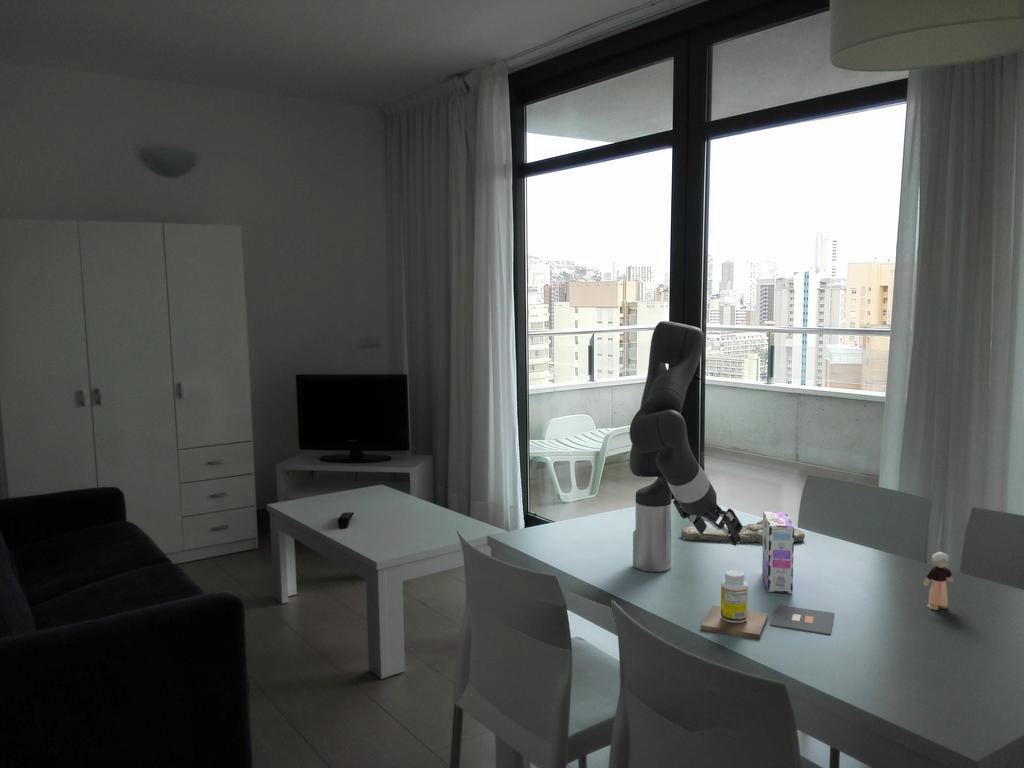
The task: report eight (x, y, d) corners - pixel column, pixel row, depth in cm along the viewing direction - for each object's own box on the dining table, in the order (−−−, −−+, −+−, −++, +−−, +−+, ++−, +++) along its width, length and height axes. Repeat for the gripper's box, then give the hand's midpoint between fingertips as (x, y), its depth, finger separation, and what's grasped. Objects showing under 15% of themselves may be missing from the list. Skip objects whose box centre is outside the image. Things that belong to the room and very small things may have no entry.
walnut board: (700, 629, 168) (700, 625, 168) (712, 609, 178) (712, 605, 178) (759, 639, 162) (759, 634, 162) (767, 618, 173) (767, 613, 173)
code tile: (770, 625, 169) (770, 624, 169) (777, 605, 180) (777, 604, 180) (830, 635, 164) (830, 633, 164) (834, 614, 175) (834, 612, 175)
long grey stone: (679, 537, 239) (682, 549, 229) (678, 520, 238) (681, 531, 228) (800, 534, 234) (808, 546, 224) (799, 516, 233) (808, 528, 223)
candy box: (793, 594, 187) (795, 526, 185) (767, 593, 188) (768, 525, 186) (785, 574, 200) (786, 511, 199) (761, 573, 202) (762, 510, 200)
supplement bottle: (727, 612, 174) (728, 566, 173) (751, 618, 171) (752, 572, 170) (715, 619, 170) (716, 573, 169) (740, 626, 166) (741, 579, 165)
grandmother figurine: (935, 612, 175) (938, 557, 174) (919, 607, 178) (922, 552, 177) (957, 606, 178) (960, 551, 177) (941, 600, 182) (943, 547, 181)
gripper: (730, 481, 153) (757, 532, 161) (673, 464, 164) (701, 513, 172) (709, 510, 150) (738, 560, 159) (653, 491, 161) (683, 539, 170)
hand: (719, 535), depth 166 cm, fingers open, 8 cm apart
